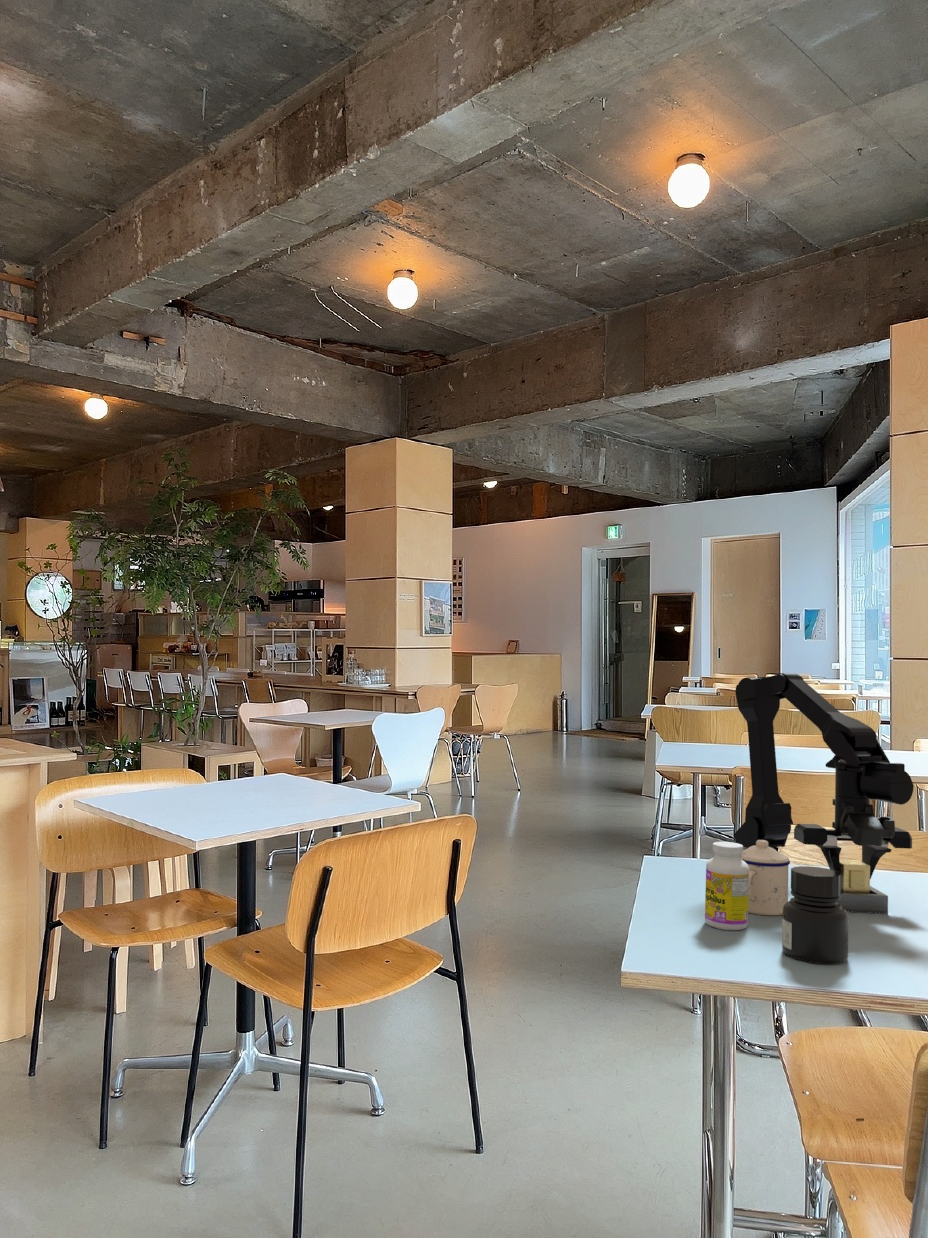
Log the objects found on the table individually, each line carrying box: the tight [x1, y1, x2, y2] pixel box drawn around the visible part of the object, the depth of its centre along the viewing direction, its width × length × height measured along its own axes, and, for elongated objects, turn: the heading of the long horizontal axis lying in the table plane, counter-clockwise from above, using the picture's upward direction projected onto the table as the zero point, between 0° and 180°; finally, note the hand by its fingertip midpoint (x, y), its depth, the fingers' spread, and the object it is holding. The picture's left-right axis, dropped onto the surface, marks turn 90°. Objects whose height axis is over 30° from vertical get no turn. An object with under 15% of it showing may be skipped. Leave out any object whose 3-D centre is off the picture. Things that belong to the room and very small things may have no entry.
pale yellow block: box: [839, 858, 871, 894], centre depth 160 cm, size 4×6×5 cm
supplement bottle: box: [704, 841, 749, 931], centre depth 145 cm, size 7×7×13 cm
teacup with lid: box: [741, 840, 791, 916], centre depth 155 cm, size 12×9×12 cm
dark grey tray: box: [837, 885, 889, 915], centre depth 163 cm, size 9×15×3 cm, turn 179°
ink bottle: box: [781, 865, 850, 965], centre depth 131 cm, size 10×9×12 cm
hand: (851, 885), depth 160 cm, fingers closed on pale yellow block, 4 cm apart
